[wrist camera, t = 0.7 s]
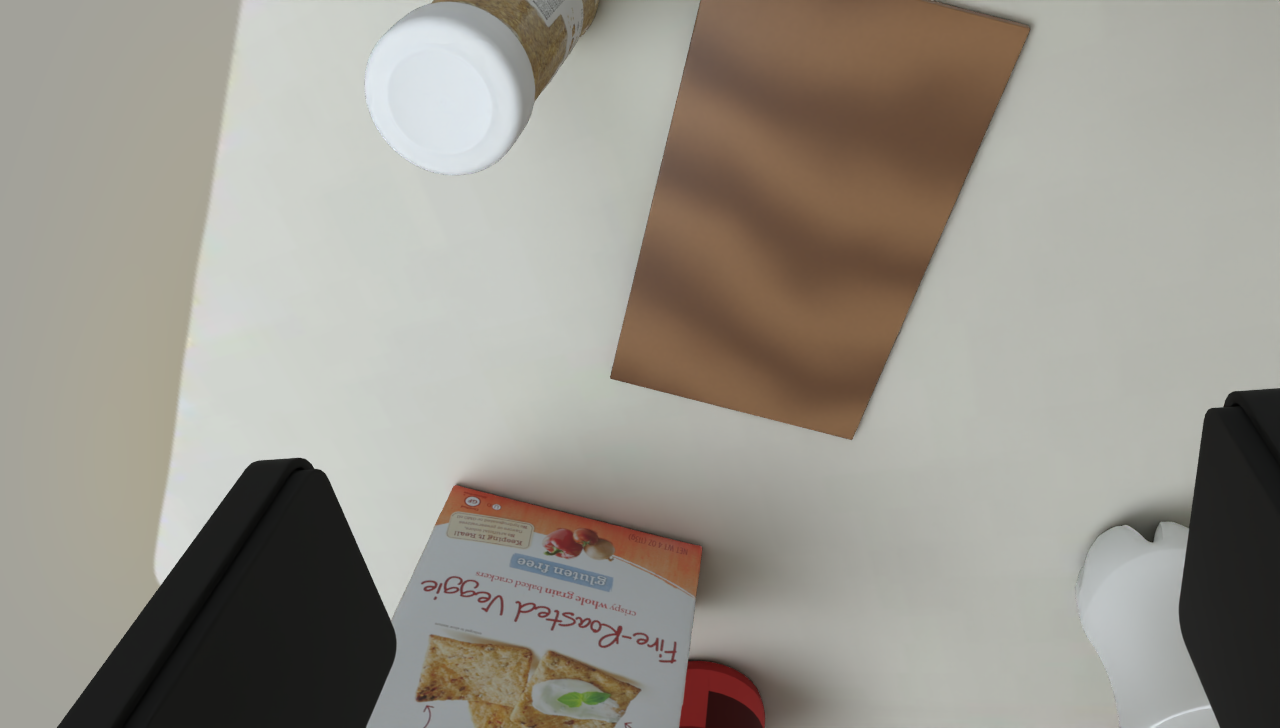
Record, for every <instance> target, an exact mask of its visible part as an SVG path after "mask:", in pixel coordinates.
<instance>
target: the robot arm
mask: <svg viewBox="0 0 1280 728" xmlns="http://www.w3.org/2000/svg"><path fill="white" fill-rule="evenodd" d="M1179 622H1180V629H1181V633H1182V637H1183V640H1184V643H1185V646H1186V648H1187V650H1188V653H1189V655H1190V658H1191V660H1192V662H1193V665H1194V667H1195V669H1196V672H1197V674H1198V677H1199V679H1200V681H1201V684H1202V686H1203V689H1204V691H1205V693H1206V696H1207V698H1208V700H1209V703H1210V705H1211V708H1212V710H1213V712H1214V715H1215V717H1216V720H1217V722H1218V724H1219V727H1220V728H1280V388H1277V389H1263V390H1249V391H1235V392H1232V393H1230V394H1229V395H1228V397H1227V398H1226V400H1225V404H1224V407H1221V408H1211V409H1209V410H1208V411H1207V413H1206V414H1205V418H1204V423H1203V431H1202V438H1201V445H1200V453H1199V460H1198V467H1197V475H1196V482H1195V489H1194V497H1193V504H1192V511H1191V519H1190V526H1189V533H1188V540H1187V548H1186V555H1185V562H1184V570H1183V577H1182V584H1181V592H1180V599H1179ZM396 648H397V640H396V633H395V630H394V627H393V625H392V623H391V620H390V618H389V616H388V614H387V611H386V609H385V607H384V604H383V602H382V600H381V598H380V595H379V593H378V591H377V588H376V586H375V584H374V582H373V579H372V577H371V575H370V573H369V570H368V568H367V566H366V563H365V561H364V559H363V557H362V554H361V552H360V550H359V548H358V545H357V543H356V541H355V538H354V536H353V534H352V532H351V529H350V527H349V525H348V522H347V520H346V518H345V516H344V513H343V511H342V509H341V507H340V504H339V502H338V500H337V497H336V495H335V493H334V491H333V488H332V486H331V484H330V481H329V479H328V478H327V476H326V474H325V473H324V472H323V471H322V470H318V469H314V468H313V466H312V464H311V463H310V462H308V461H307V460H306V459H303V458H290V459H275V460H261V461H256V462H253V463H251V464H250V465H249V466H248V467H247V468H246V469H245V471H244V472H243V473H242V475H241V476H240V478H239V479H238V480H237V482H236V483H235V484H234V486H233V487H232V489H231V490H230V491H229V493H228V494H227V495H226V497H225V498H224V500H223V501H222V502H221V504H220V505H219V506H218V508H217V509H216V510H215V512H214V513H213V515H212V516H211V517H210V519H209V520H208V521H207V523H206V524H205V526H204V527H203V528H202V530H201V531H200V532H199V534H198V535H197V537H196V538H195V539H194V541H193V542H192V543H191V545H190V546H189V547H188V549H187V550H186V552H185V553H184V554H183V556H182V557H181V558H180V560H179V561H178V563H177V564H176V565H175V567H174V568H173V569H172V571H171V572H170V574H169V575H168V576H167V578H166V579H165V580H164V582H163V583H162V584H161V586H160V587H159V589H158V590H157V591H156V593H155V594H154V595H153V597H152V598H151V600H150V601H149V602H148V604H147V605H146V606H145V608H144V609H143V611H142V612H141V613H140V615H139V616H138V617H137V619H136V620H135V622H134V623H133V624H132V626H131V627H130V628H129V630H128V631H127V632H126V634H125V635H124V637H123V638H122V639H121V641H120V642H119V644H118V645H117V646H116V648H115V649H114V650H113V652H112V653H111V655H110V656H109V657H108V659H107V660H106V662H105V663H104V664H103V665H102V667H101V668H100V669H99V671H98V672H97V674H96V675H95V676H94V678H93V679H92V680H91V682H90V683H89V685H88V686H87V687H86V689H85V690H84V691H83V693H82V694H81V695H80V697H79V698H78V700H77V701H76V703H75V704H74V705H73V706H72V708H71V709H70V711H69V712H68V713H67V715H66V716H65V717H64V719H63V720H62V722H61V723H60V724H59V726H58V727H57V728H366V726H367V724H368V722H369V719H370V717H371V715H372V712H373V710H374V708H375V705H376V703H377V701H378V698H379V696H380V693H381V691H382V689H383V686H384V684H385V682H386V679H387V677H388V675H389V672H390V670H391V668H392V665H393V663H394V659H395V656H396Z"/></svg>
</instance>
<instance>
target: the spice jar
mask: <svg viewBox="0 0 1280 728" xmlns="http://www.w3.org/2000/svg"><path fill="white" fill-rule="evenodd" d="M598 3H599V0H433V2H432V3H431V4H427V5H424V6H422V7H419V8H417V9H415V10H413V11H411V12H410V13H408V14H407V15H406V16H404V17H403V18H402V19H400V20H399V21H398V22H397V23H396V24H394V25H393V26H392V27H391V28H390V29H389V30H388V31H387V32H386V33H385V34H384V35H383V36H382V37H381V39H380V40H379V41H378V42H377V44H376V45H375V47H374V48H373V50H372V52H371V54H370V57H369V60H368V62H367V67H366V72H365V83H364V85H365V97H366V102H367V106H368V109H369V113H370V115H371V118H372V120H373V122H374V124H375V126H376V128H377V129H378V131H379V132H380V134H381V135H382V137H383V138H384V140H385V141H386V142H387V143H388V144H389V145H390V146H391V148H392V149H394V150H395V151H396V152H397V153H398V154H399V155H401V156H402V157H403V158H405V159H406V160H407V161H409V162H411V163H412V164H414V165H416V166H418V167H420V168H422V169H425V170H427V171H430V172H433V173H438V174H442V175H466V174H472V173H476V172H479V171H482V170H484V169H486V168H488V167H490V166H492V165H493V164H495V163H496V162H498V161H499V160H500V159H501V158H502V157H503V156H504V155H505V154H506V153H507V152H508V151H509V150H510V149H511V147H512V146H513V144H514V143H515V142H516V140H517V139H518V137H519V136H520V134H521V133H522V131H523V130H524V128H525V126H526V125H527V123H528V121H529V118H530V116H531V113H532V109H533V105H534V101H535V100H536V99H537V98H538V96H539V95H540V93H541V92H542V91H543V90H544V89H545V88H546V86H547V85H548V84H549V83H550V81H551V80H552V78H553V77H554V75H555V74H556V73H557V71H558V70H559V68H560V67H561V65H562V64H563V62H564V61H565V59H566V58H567V57H568V55H569V54H570V52H571V51H572V49H573V48H574V46H575V44H576V43H577V41H578V39H579V37H581V36H582V35H583V34H584V33H585V32H586V30H587V29H588V28H589V26H590V25H591V23H592V21H593V19H594V17H595V14H596V11H597V7H598Z"/></svg>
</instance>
